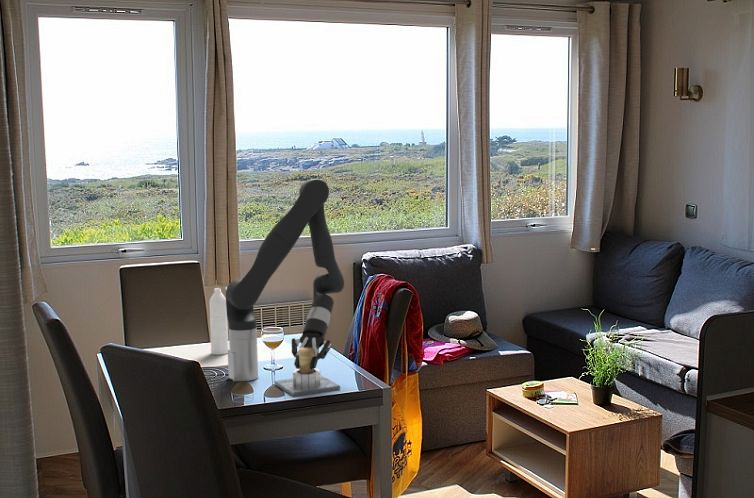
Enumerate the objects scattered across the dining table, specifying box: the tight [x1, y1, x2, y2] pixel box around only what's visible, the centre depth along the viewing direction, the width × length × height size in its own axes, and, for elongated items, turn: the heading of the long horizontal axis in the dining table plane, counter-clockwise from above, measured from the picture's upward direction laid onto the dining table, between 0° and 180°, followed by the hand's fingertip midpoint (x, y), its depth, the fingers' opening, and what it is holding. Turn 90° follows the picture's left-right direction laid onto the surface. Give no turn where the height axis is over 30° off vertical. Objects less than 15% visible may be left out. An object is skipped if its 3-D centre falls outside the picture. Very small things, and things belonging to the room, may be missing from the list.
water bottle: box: [208, 286, 230, 356], centre depth 329 cm, size 9×6×25 cm
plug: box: [298, 347, 314, 374], centre depth 280 cm, size 5×5×10 cm
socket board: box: [274, 367, 341, 397], centre depth 280 cm, size 16×16×5 cm
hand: (304, 367), depth 278 cm, fingers closed on plug, 4 cm apart
